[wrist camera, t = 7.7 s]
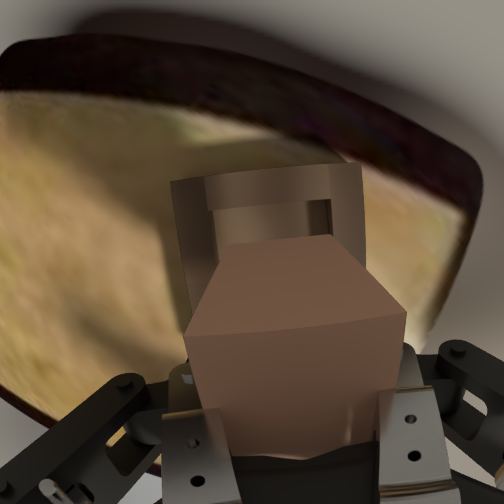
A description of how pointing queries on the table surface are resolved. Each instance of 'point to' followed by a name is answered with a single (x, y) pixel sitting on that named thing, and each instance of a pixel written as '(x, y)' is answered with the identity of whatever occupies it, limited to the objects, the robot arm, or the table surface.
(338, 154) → the table surface
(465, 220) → the table surface
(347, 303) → the key block
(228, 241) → the cradle
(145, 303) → the table surface
